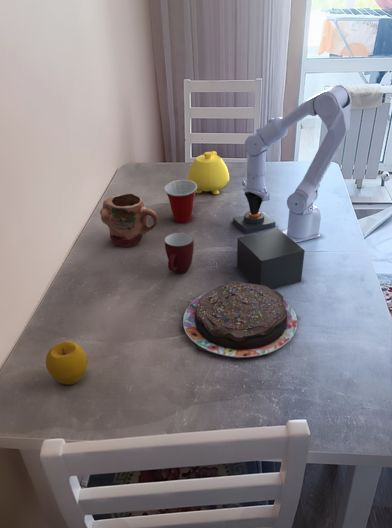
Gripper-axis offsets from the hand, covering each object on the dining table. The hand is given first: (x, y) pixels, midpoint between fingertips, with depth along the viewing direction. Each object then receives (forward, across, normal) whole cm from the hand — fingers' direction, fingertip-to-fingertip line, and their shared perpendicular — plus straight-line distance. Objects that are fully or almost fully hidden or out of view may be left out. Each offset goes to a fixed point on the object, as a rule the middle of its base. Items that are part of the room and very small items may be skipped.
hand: (254, 213), depth 157 cm
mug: (+4, +17, -33) cm, 37 cm away
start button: (+2, 0, 0) cm, 2 cm away
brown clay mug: (+4, -7, -40) cm, 41 cm away
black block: (+4, +29, -11) cm, 31 cm away
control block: (+4, 0, 0) cm, 4 cm away
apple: (+4, +47, -70) cm, 84 cm away
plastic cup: (+4, -14, -20) cm, 25 cm away
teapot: (+4, -36, 0) cm, 36 cm away
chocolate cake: (+4, +45, -28) cm, 53 cm away
